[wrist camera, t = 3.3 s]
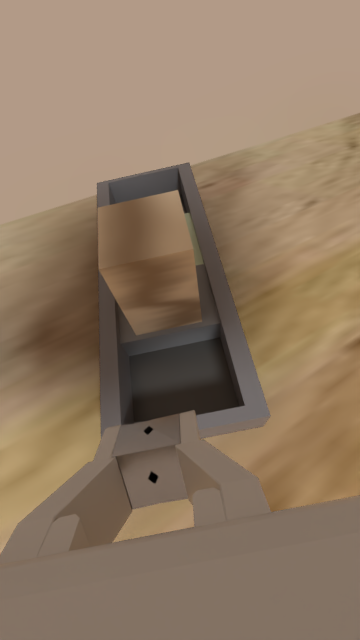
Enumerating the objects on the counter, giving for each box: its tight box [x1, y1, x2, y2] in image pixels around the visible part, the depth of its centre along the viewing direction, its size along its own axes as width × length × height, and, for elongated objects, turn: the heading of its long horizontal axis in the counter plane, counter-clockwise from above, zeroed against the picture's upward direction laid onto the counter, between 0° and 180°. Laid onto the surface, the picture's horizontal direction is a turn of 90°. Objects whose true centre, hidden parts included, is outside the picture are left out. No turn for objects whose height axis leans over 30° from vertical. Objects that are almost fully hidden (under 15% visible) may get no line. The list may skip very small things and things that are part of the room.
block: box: [97, 190, 202, 335], centre depth 23 cm, size 6×6×9 cm
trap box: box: [97, 163, 270, 439], centre depth 30 cm, size 12×32×4 cm, turn 9°
